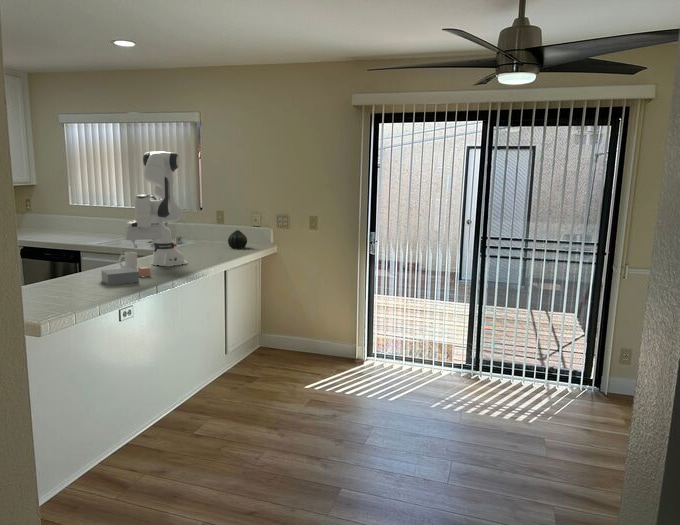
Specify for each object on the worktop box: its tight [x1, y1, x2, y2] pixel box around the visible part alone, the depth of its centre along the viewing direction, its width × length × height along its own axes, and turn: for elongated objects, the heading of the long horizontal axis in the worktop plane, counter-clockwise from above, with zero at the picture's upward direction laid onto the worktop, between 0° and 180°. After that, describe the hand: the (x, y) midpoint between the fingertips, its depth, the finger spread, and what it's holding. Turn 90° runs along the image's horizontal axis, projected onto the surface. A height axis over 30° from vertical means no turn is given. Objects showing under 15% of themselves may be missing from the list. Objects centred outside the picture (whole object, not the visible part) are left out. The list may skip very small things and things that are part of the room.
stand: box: [100, 268, 140, 286], centre depth 283 cm, size 16×12×6 cm
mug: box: [118, 251, 138, 271], centre depth 306 cm, size 10×7×12 cm, turn 107°
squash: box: [227, 229, 248, 250], centre depth 413 cm, size 14×15×15 cm
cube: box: [137, 266, 151, 278], centre depth 300 cm, size 5×5×5 cm
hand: (143, 247), depth 297 cm, fingers open, 8 cm apart
